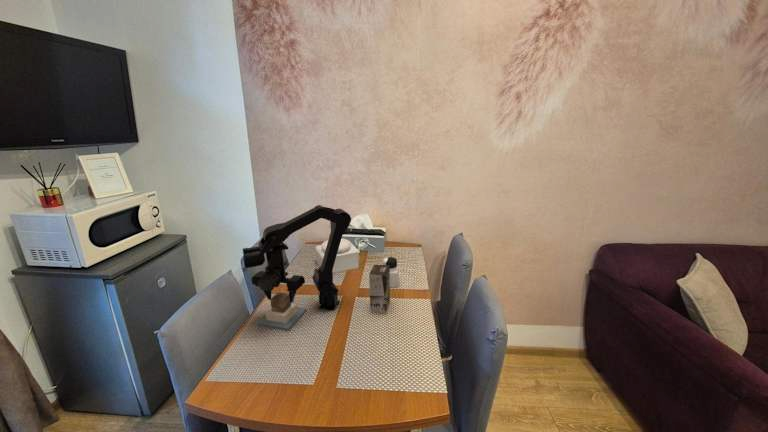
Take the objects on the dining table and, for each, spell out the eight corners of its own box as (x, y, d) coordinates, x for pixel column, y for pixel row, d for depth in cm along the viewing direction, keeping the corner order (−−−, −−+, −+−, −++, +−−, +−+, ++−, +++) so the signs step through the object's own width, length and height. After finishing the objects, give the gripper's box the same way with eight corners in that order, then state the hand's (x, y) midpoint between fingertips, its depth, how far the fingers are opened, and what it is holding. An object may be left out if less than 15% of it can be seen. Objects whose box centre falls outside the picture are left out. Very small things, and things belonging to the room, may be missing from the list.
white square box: (316, 261, 170) (313, 233, 166) (349, 255, 177) (347, 227, 173) (324, 275, 155) (322, 244, 150) (360, 268, 162) (359, 238, 158)
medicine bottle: (398, 279, 149) (398, 255, 146) (397, 287, 142) (397, 262, 139) (383, 279, 150) (382, 255, 146) (381, 287, 143) (380, 262, 140)
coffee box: (386, 314, 123) (385, 275, 119) (369, 312, 125) (368, 274, 120) (390, 301, 132) (390, 264, 127) (375, 299, 133) (374, 263, 129)
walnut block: (291, 305, 123) (289, 293, 122) (283, 313, 118) (282, 300, 117) (279, 303, 124) (278, 292, 123) (271, 311, 120) (270, 299, 118)
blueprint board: (306, 310, 127) (305, 301, 126) (288, 331, 115) (287, 321, 114) (277, 306, 130) (276, 297, 129) (256, 325, 118) (255, 315, 117)
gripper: (237, 269, 111) (244, 309, 115) (286, 275, 106) (291, 316, 110) (258, 256, 121) (263, 293, 126) (303, 260, 116) (307, 299, 121)
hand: (280, 300), depth 120 cm, fingers open, 9 cm apart
